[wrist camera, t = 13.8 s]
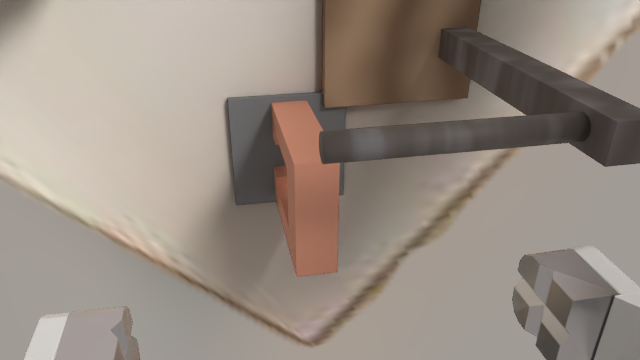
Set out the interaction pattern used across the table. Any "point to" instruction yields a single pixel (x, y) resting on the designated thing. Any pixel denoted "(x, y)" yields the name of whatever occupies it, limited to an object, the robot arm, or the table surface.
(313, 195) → the link
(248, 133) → the coaster
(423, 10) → the stand
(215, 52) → the table surface
